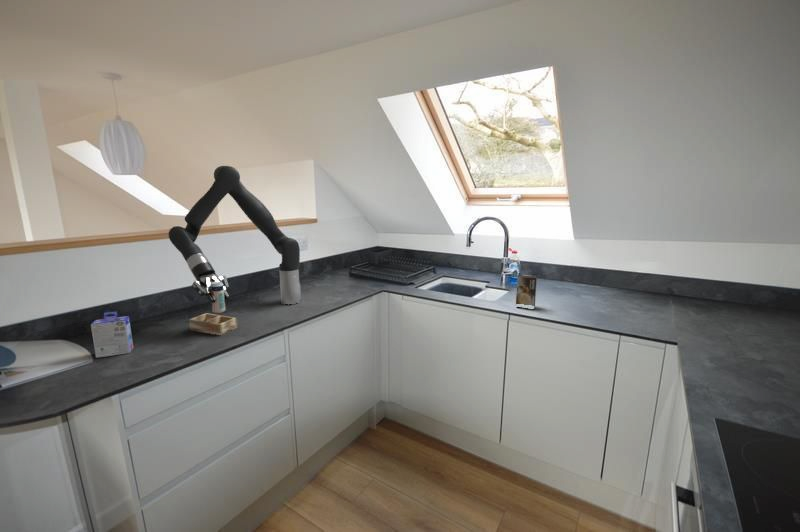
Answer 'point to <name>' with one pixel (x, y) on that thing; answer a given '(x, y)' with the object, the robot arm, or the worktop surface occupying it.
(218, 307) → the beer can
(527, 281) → the coffee box
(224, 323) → the can rack
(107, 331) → the ink cartridge box
